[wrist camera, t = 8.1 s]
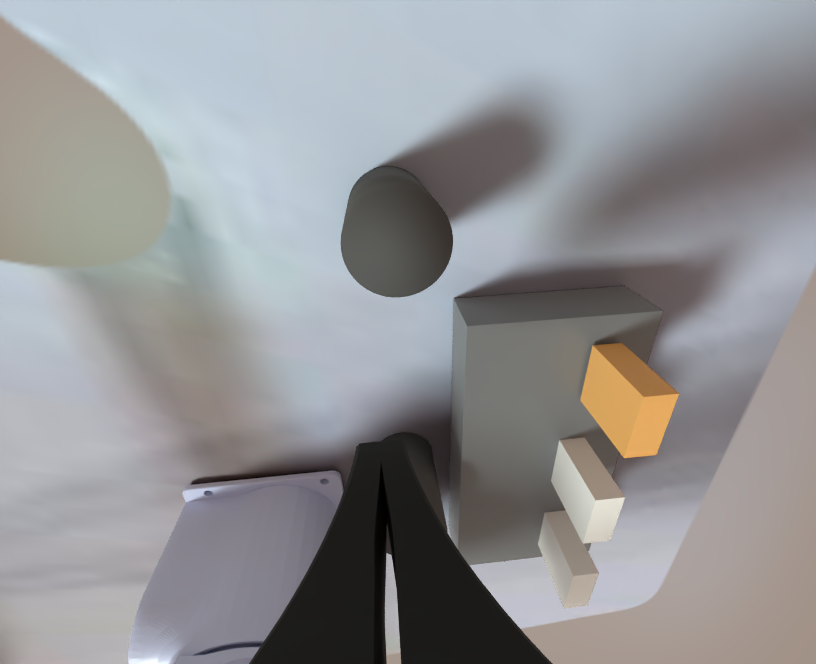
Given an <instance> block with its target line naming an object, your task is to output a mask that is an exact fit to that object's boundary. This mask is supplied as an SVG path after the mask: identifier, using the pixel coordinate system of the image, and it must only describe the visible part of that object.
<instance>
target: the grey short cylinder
mask: <svg viewBox="0 0 816 664" xmlns="http://www.w3.org/2000/svg"><path fill="white" fill-rule="evenodd" d="M392 440H402V441H404V442H405V445H406V449H407V453H408V456H409V459H410V461H411V464H412V467H413V469H414V471H415V474H416V476H417V478H418V480H419V483H420V485H421V487H422V489H423V491H424V493H425V495H426V497H427V498H428V500H429V502H430V504H431V506H432V508H433V510H434V511H435V513H436V515H437V517H438V518H439V520H440V522H441V523H442V525H443V527H444V529H445V530H446V532H447V526H446V521H445V515H444V510H443V505H442V500H441V495H440V490H439V485H438V480H437V475H436V470H435V465H434V460H433V455H432V450H431V446H430V444H429V443H428V441H427V440H426V439H424V438H423V437H421V436H419V435H417V434H413V433H398V434H394V435H391V436H389V437H387V438H385V439H384V440H383V441H392ZM381 442H382V441H381ZM386 553H388V554H391V555H392V553H391V546H390V540H389V533H388V526H387V546H386Z"/></svg>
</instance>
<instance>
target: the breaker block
mask: <svg viewBox="0 0 816 664" xmlns="http://www.w3.org/2000/svg"><path fill="white" fill-rule="evenodd" d="M662 314H663V310H661V309H660V308H658V307H657V306H655V305H654V304H652V303H651V302H649V301H648V300H646V299H644V298H643V297H641V296H640V295H638V294H637V293H635V292H634V291H632V290H631V289H629V288H628V287H626V286H616V287H602V288H588V289H575V290H561V291H548V292H534V293H520V294H507V295H493V296H480V297H466V298H454V304H453V351H452V397H451V444H450V491H449V529H450V534H451V539H452V541H453V543H454V544H455V546H456V547H457V549H458V550H459V552H460V553H461V555H462V556H463V558H464V559H465V560H466V562H467V563H468V565H475V564H483V563H491V562H500V561H508V560H517V559H525V558H534V557H542V556H543V558H544V561H545V563H546V566H547V568H548V570H549V573H550V575H551V578H552V580H553V583H554V585H555V588H556V590H557V593H558V595H559V598H560V600H561V603H562V605H563V608H571V607H579V606H587V605H588V603H589V600H590V597H591V594H592V591H593V589H594V586H595V583H596V580H597V577H598V574H599V572H598V570H597V568H596V566H595V564H594V563H593V561H592V559H591V557H590V555H589V553H588V551H589V549H590V545H591V543H593V542H602V541H610V540H611V537H612V534H613V531H614V528H615V525H616V522H617V519H618V517H619V514H620V511H621V508H622V505H623V502H624V499H625V496H624V495H623V493H622V492H621V490H620V489H619V487H618V486H617V484H616V483H615V482H614V480H613V479H612V475H613V471H614V468H615V465H616V462H617V459H618V455H619V451H618V450H617V448H616V447H615V446H614V444H613V443H612V442H611V440H610V439H609V438H608V436H607V435H606V434H605V432H604V431H603V430H602V428H601V427H600V426H599V424H598V423H597V422H596V420H595V419H594V418H593V417H592V415H591V414H590V413H589V411H588V410H587V409H586V407H585V406H584V405H583V403H582V402H581V401H580V399H581V395H582V390H583V386H584V381H585V377H586V372H587V368H588V363H589V359H590V354H591V350H592V345H602V344H614V343H622V344H624V345H625V346H626V347H627V348H628V349H629V350H630V351H632V352H633V353H634V354H635V355H636V356H637V357H638V358H639V359H641V360H642V361H643V362H644V363H645V364H646V365H647V362H648V359H649V356H650V352H651V349H652V346H653V343H654V340H655V336H656V333H657V330H658V327H659V323H660V320H661V317H662Z"/></svg>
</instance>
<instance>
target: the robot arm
mask: <svg viewBox="0 0 816 664" xmlns="http://www.w3.org/2000/svg"><path fill="white" fill-rule="evenodd" d="M183 496H184V499H185V501H186V504H185V506H184V508H183V510H182V512H181V515H180V517H179V519H178V521H177V523H176V525H175V527H174V530H173V532H172V534H171V536H170V538H169V540H168V543H167V545H166V547H165V549H164V551H163V553H162V555H161V558H160V560H159V562H158V564H157V566H156V568H155V571H154V573H153V575H152V577H151V579H150V581H149V583H148V586H147V588H146V590H145V592H144V594H143V597H142V599H141V602H140V604H139V607H138V610H137V613H136V616H135V620H134V624H133V628H132V632H131V637H130V643H129V651H128V664H386V642H385V579H386V546H387V526H388V533H389V540H390V546H391V553H392V560H393V567H394V574H395V580H396V587H397V599H398V615H399V632H400V648H401V664H552V663H551V662H550V661H549V660H548V659H547V658H546V657H545V656H544V655H543V654H542V652H541V651H540V650H539V649H538V648H537V647H536V646H535V645H534V644H533V643H532V642H531V641H530V639H529V638H528V637H527V636H526V635H525V634H524V633H523V632H522V630H521V629H520V628H519V627H518V626H517V625H516V624H515V622H514V621H513V620H512V619H511V618H510V617H509V616H508V614H507V613H506V612H505V611H504V610H503V608H502V607H501V606H500V605H499V603H498V602H497V601H496V600H495V598H494V597H493V596H492V595H491V593H490V592H489V591H488V590H487V588H486V587H485V586H484V585H483V583H482V582H481V581H480V580H479V578H478V577H477V576H476V574H475V573H474V571H473V570H472V569H471V567H470V566H469V565H468V563H467V562H466V560H465V559H464V558H463V556H462V555H461V553H460V552H459V550H458V549H457V547H456V546H455V544H454V543H453V541H452V540H451V538H450V537H449V535H448V533H447V532H446V530H445V529H444V527H443V525H442V523H441V522H440V520H439V518H438V517H437V515H436V513H435V511H434V510H433V508H432V506H431V504H430V502H429V500H428V498H427V497H426V495H425V493H424V491H423V489H422V487H421V485H420V483H419V480H418V478H417V476H416V474H415V471H414V469H413V467H412V464H411V461H410V459H409V456H408V453H407V449H406V445H405V442H404V441H402V440H392V441H382V442H371V443H361V444H359V445H358V446H357V447H356V452H355V457H354V461H353V465H352V468H351V472H350V475H349V478H348V481H347V484H346V487H345V489H344V490H343V485H342V479H341V475H340V473H339V472H337V471H324V472H314V473H304V474H294V475H284V476H274V477H264V478H254V479H244V480H234V481H224V482H214V483H204V484H194V485H188V486H187V487H185V489H184V492H183Z"/></svg>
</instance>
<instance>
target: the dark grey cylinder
mask: <svg viewBox="0 0 816 664" xmlns="http://www.w3.org/2000/svg"><path fill="white" fill-rule="evenodd" d="M452 247H453V235H452V229H451V225H450V222H449V220H448V218H447V216H446V214H445V212H444V211H443V209H442V208H441V207H440V205H439V204H438V203H437V202H436V201H435V199H434V198H433V197H432V196H431V195H430V193H429V192H428V191H427V190H426V189H425V188H424V186H423V185H422V184H421V183H420V182H419V180H418V179H417V178H416V177H415V176H413V175H412V174H411V173H409V172H408V171H406V170H404V169H401V168H398V167H392V166H385V167H379V168H375V169H373V170H370V171H369V172H367V173H365V174H364V175H363V176H362V177H360V179H359V180H358V181H357V182H356V183H355V185H354V186H353V188H352V190H351V193H350V195H349V200H348V204H347V209H346V214H345V219H344V224H343V229H342V234H341V251H342V256H343V259H344V262H345V265H346V267H347V269H348V271H349V272H350V274H351V275H352V276H353V278H354V279H355V280H356V281H357V282H358V283H359V284H360V285H362V286H363V287H364V288H366V289H367V290H369V291H371V292H373V293H376V294H379V295H382V296H386V297H405V296H410V295H414V294H416V293H419V292H421V291H423V290H425V289H427V288H428V287H429V286H431V285H432V284H433V283H434V282H435V281H437V279H438V278H439V277H440V276H441V275H442V273H443V272H444V270H445V269H446V267H447V265H448V263H449V260H450V257H451V253H452Z"/></svg>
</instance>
